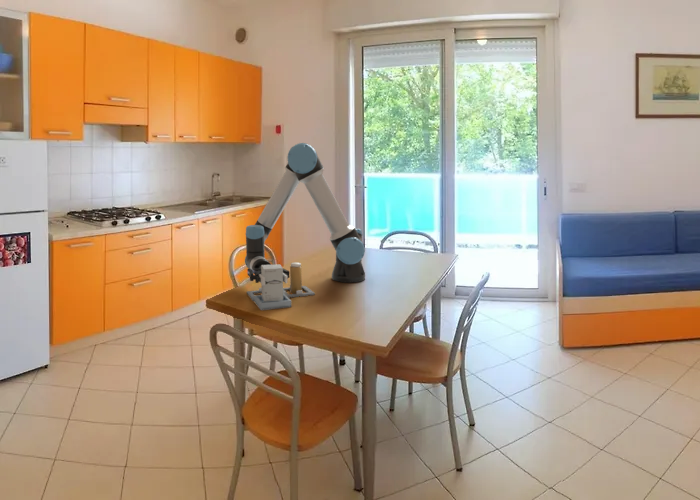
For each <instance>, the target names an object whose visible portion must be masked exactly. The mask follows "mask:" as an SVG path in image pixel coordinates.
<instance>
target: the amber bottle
mask: <svg viewBox="0 0 700 500" xmlns="http://www.w3.org/2000/svg"><path fill="white" fill-rule="evenodd" d="M302 269H303V267H302V263H301V262H291V263H290V266H289V278H290V279H289V280H290V281H289V283H290V284H289V287H290V290H289V292H290V293H289V294H291V293H292V294H296V291H299V290H302V291H303V289H302V286H303V282H302V281H303V279H302V278H303V276H302V275H303V274H302V273H303V272H302V271H303V270H302Z"/></svg>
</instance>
